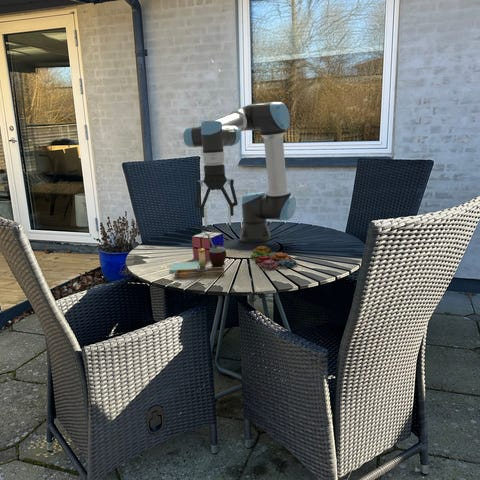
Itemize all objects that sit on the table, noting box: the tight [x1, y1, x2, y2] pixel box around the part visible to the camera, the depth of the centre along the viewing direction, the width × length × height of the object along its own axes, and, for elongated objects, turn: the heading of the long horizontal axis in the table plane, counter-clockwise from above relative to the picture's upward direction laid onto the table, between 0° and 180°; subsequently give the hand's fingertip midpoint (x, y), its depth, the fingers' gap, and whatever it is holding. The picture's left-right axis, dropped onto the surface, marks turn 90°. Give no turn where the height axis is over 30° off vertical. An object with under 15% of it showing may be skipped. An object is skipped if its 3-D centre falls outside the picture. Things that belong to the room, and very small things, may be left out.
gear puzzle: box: [250, 245, 300, 272], centre depth 192 cm, size 31×16×4 cm, turn 12°
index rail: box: [174, 266, 225, 280], centre depth 175 cm, size 19×5×2 cm, turn 91°
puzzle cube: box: [191, 231, 225, 262], centre depth 199 cm, size 10×10×10 cm
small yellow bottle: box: [198, 248, 209, 272], centre depth 174 cm, size 4×3×9 cm
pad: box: [169, 261, 200, 274], centre depth 184 cm, size 11×10×1 cm
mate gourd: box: [201, 230, 227, 268], centre depth 184 cm, size 8×8×15 cm
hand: (218, 225), depth 170 cm, fingers open, 8 cm apart
